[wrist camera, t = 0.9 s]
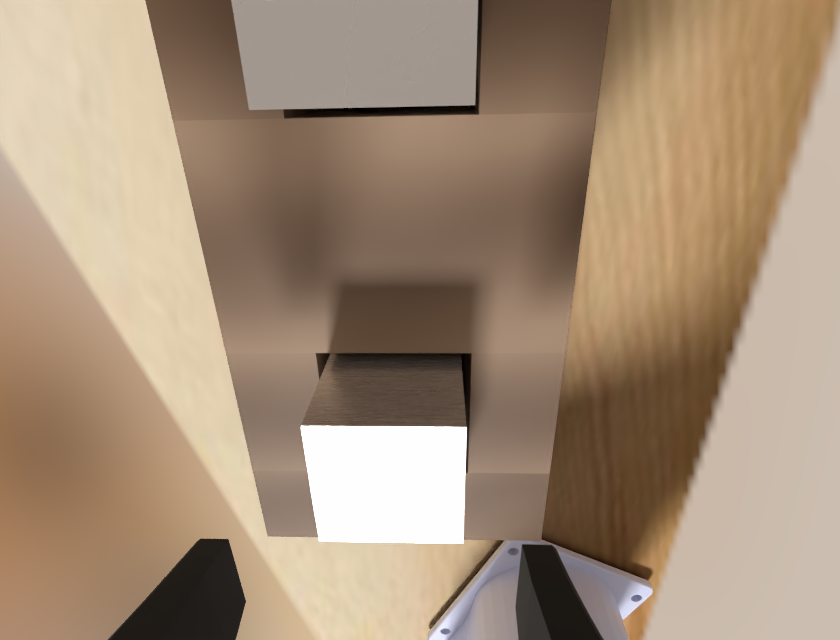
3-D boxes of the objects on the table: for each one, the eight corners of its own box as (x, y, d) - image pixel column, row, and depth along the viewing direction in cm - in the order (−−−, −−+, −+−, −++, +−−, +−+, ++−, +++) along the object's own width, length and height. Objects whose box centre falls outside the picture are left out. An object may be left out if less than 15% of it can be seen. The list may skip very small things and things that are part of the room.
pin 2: (458, 449, 17) (463, 543, 13) (343, 448, 17) (319, 541, 13) (460, 348, 15) (466, 427, 11) (332, 348, 15) (300, 425, 12)
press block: (523, 462, 21) (541, 540, 17) (296, 460, 21) (268, 536, 18) (593, -259, 11) (666, -422, 8) (176, -237, 12) (58, -381, 8)
